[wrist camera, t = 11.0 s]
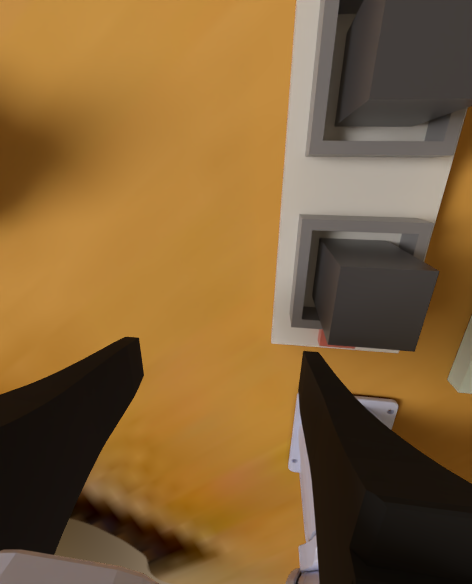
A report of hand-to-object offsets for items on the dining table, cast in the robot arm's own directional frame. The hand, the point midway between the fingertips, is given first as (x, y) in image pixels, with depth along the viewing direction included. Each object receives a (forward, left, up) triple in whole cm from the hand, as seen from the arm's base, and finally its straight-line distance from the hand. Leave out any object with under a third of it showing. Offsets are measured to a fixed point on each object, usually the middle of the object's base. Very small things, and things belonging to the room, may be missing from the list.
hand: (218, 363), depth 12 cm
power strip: (+7, -7, -9) cm, 14 cm away
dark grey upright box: (+12, -7, -8) cm, 16 cm away
